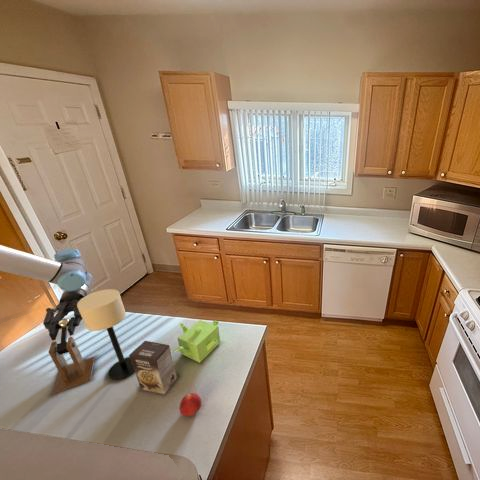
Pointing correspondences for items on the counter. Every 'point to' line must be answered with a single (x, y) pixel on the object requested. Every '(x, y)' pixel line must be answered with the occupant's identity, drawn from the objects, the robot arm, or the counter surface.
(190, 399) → the red apple
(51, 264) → the robot arm
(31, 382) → the counter surface
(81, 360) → the wooden globe stand
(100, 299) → the desk lamp
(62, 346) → the black pendulum
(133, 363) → the coffee box
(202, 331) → the cube with spouts
